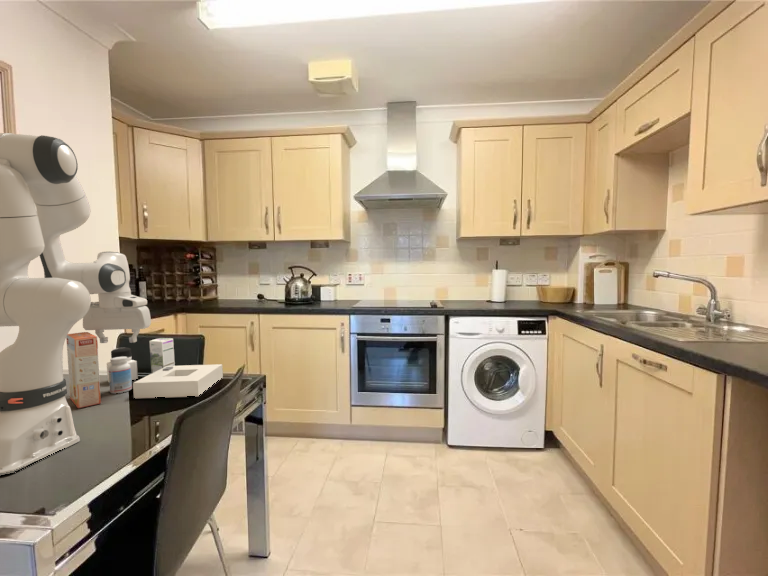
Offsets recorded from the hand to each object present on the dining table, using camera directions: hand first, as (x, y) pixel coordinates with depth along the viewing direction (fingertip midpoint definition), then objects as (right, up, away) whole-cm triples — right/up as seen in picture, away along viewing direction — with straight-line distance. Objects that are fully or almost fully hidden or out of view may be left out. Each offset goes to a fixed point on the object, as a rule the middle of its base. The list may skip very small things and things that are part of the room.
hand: (118, 342), depth 126 cm
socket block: (+19, -16, +3) cm, 25 cm away
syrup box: (+6, -16, +16) cm, 23 cm away
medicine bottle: (-7, -16, +12) cm, 21 cm away
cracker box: (-4, -17, -8) cm, 20 cm away
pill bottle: (0, -17, +1) cm, 17 cm away
